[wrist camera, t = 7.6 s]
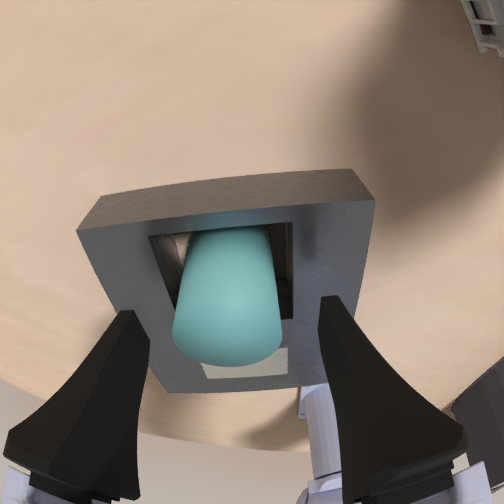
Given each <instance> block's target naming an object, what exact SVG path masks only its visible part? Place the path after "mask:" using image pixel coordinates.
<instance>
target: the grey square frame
mask: <svg viewBox="0 0 504 504" xmlns="http://www.w3.org/2000/svg"><path fill="white" fill-rule="evenodd" d="M374 206H375V199H374V198H373V196H372V195H371V194H370V192H369V191H368V190H367V188H366V187H365V186H364V184H363V183H362V182H361V180H360V179H359V178H358V177H357V175H356V174H355V173H354V171H353V170H352V169H337V170H315V171H299V172H284V173H271V174H259V175H248V176H238V177H229V178H220V179H211V180H203V181H195V182H187V183H180V184H172V185H166V186H159V187H152V188H146V189H140V190H134V191H128V192H122V193H116V194H111V195H105V196H101V197H100V198H99V200H98V201H97V202H96V204H95V205H94V206H93V208H92V209H91V210H90V212H89V213H88V214H87V216H86V217H85V218H84V220H83V221H82V223H81V224H80V225H79V227H78V228H77V230H76V232H77V234H78V237H79V239H80V241H81V243H82V246H83V248H84V250H85V252H86V254H87V256H88V258H89V261H90V263H91V265H92V267H93V269H94V271H95V273H96V275H97V277H98V279H99V281H100V283H101V285H102V286H103V288H104V290H105V292H106V294H107V296H108V298H109V300H110V301H111V303H112V305H113V307H114V309H115V310H116V312H117V314H118V313H119V312H120V311H121V310H134V311H135V313H136V315H137V317H138V319H139V321H140V323H141V325H142V326H143V328H144V330H145V332H146V334H147V336H148V337H149V339H150V353H149V363H148V365H149V366H150V368H151V369H152V371H153V372H154V373H155V375H156V376H157V378H158V379H159V381H160V382H161V384H162V385H163V386H164V388H165V389H166V391H167V392H168V393H221V392H245V391H261V390H274V389H285V388H294V387H303V386H311V385H319V384H326V383H328V379H327V376H326V372H325V368H324V364H323V360H322V356H321V351H320V344H319V338H318V331H317V330H318V321H319V312H320V302H321V297H323V296H332V295H338V296H339V297H340V299H341V300H342V302H343V304H344V305H345V307H346V308H347V310H348V311H349V313H350V314H351V316H352V317H353V319H354V315H355V311H356V307H357V302H358V298H359V293H360V288H361V283H362V278H363V273H364V268H365V263H366V257H367V251H368V246H369V240H370V233H371V227H372V220H373V213H374ZM283 222H285V240H286V278H278V279H275V281H276V288H277V296H278V304H279V312H280V319H281V327H282V341H281V344H280V346H279V347H278V349H277V350H276V351H275V352H274V353H273V354H272V355H270V356H269V357H267V358H266V359H264V360H262V361H259V362H257V363H254V364H250V365H246V366H240V367H219V366H213V365H208V364H204V363H201V362H199V361H196V360H194V359H192V358H190V357H189V356H187V355H185V354H184V353H183V352H182V351H181V350H180V349H179V348H178V347H177V346H176V344H175V342H174V340H173V337H172V329H173V323H174V317H175V312H176V306H177V301H178V296H179V290H180V285H181V280H182V275H183V267H182V264H181V261H180V257H179V254H178V250H177V247H176V243H175V240H174V236H173V233H179V232H188V231H198V230H208V229H218V228H228V227H238V226H249V225H260V224H272V223H283Z"/></svg>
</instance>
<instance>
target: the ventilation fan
mask: <svg viewBox="0 0 504 504" xmlns="http://www.w3.org/2000/svg"><path fill="white" fill-rule="evenodd" d="M451 411H452V413H454V415H455V418H456V421H457V422H458V423H459V424H461V425H462V426H463V428H464V430H465V432H466V434H467V437H468V441H469V444H470V449H469V450H468V451H467V452H466V454H467V458H468V462H469V465H470V466H472V465H474V464H476V463H478V462H480V461H484V465H485V469H486V473H487V477H488V482H489V486H490V491H491V494H493V493H494V492H496V491H498V490H499V489H501V488H502V487H504V484H503V485H501V486H498V487H496V488H493V487H495V486H497V485H499V484H501V483H502V482H504V357H503V358H501V359H500V360H499V361H498V362H497V363H495V364H494V365H493V366H492V367H491V368H489V369H488V370H487V371H486V372H485V373H484V374H482V375H481V376H480V377H479V378H478V379H477V380H476V381H475V382H473V383H472V384H471V385H470V386H469V387H468V388H467V389H466V390H465V391H464V392H463V393H462V394H461V395H460V396H459V397H458V398H457V400H456V401H455V402H454V404H453V406H452V408H451ZM491 488H493V489H491ZM493 490H494V491H493Z"/></svg>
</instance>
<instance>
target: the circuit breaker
mask: <svg viewBox="0 0 504 504" xmlns="http://www.w3.org/2000/svg"><path fill="white" fill-rule="evenodd" d="M460 1H461V4H462V6H463V8H464V11H465V14H466V16H467V19H468V21H469V24H470V27H471V30H472V33H473V35H474V38H475V41H476V45H477V48H478V51H479V52H480V53H486V52H488V49H487V47H489V48H494V49H497V52H498V55H499V57H502V58H504V0H460ZM470 1H472V2H473V5H474V7H475V10H476V12H477V15H478V18H479V19H476V17H475V14H474V11H473V9H472V6H471V4H470ZM479 24H489V25H490V27H491V30H492V33H488V34H482V31H481V28H480V25H479Z"/></svg>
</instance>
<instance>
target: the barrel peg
mask: <svg viewBox="0 0 504 504" xmlns="http://www.w3.org/2000/svg"><path fill="white" fill-rule="evenodd" d="M172 337H173V340H174V342H175V344H176V346H177V347H178V348H179V349H180V350H181V351H182V352H183V353H184V354H185V355H187V356H189V357H190V358H192V359H194V360H196V361H199V362H201V363H204V364H208V365H213V366H219V367H240V366H246V365H250V364H254V363H257V362H259V361H262V360H264V359H266V358H267V357H269V356H270V355H272V354H273V353H274V352H275V351H276V350H277V349H278V347H279V346H280V344H281V341H282V327H281V319H280V312H279V304H278V296H277V288H276V281H275V273H274V266H273V258H272V251H271V243H270V236H269V232H268V229H267V227H266V225H265V224H260V225H249V226H238V227H228V228H218V229H208V230H198V231H192V233H191V237H190V242H189V246H188V251H187V256H186V260H185V265H184V270H183V275H182V280H181V285H180V290H179V296H178V301H177V306H176V312H175V317H174V323H173V329H172Z"/></svg>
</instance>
